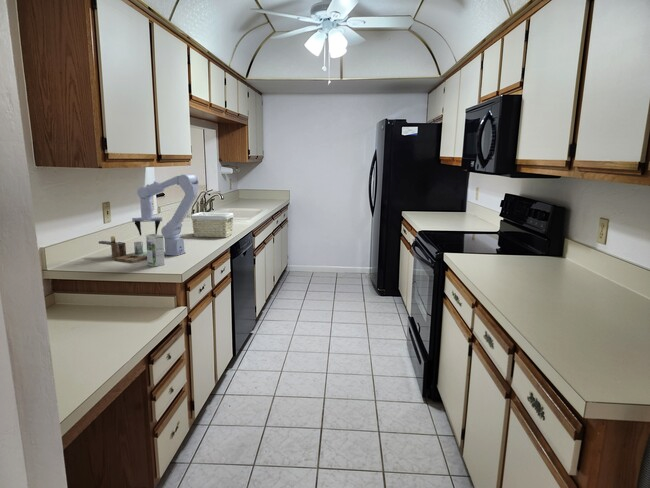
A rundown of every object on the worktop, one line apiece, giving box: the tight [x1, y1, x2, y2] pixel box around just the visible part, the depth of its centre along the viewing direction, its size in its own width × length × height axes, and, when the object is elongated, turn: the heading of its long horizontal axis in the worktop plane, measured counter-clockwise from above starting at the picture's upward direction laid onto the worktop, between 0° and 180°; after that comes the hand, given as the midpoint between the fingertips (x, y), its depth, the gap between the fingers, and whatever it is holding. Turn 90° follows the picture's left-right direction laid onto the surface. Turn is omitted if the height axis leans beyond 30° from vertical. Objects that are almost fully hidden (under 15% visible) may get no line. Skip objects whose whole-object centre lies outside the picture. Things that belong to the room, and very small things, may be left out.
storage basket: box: [190, 211, 235, 238], centre depth 275 cm, size 24×16×15 cm
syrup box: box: [145, 233, 165, 267], centre depth 198 cm, size 6×6×14 cm
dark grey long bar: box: [98, 235, 125, 246], centre depth 211 cm, size 14×2×4 cm, turn 69°
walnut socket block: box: [110, 241, 147, 264], centre depth 208 cm, size 16×10×8 cm, turn 70°
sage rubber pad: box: [126, 251, 147, 256], centre depth 219 cm, size 9×8×1 cm
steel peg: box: [133, 241, 144, 255], centre depth 218 cm, size 4×4×6 cm
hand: (148, 234), depth 223 cm, fingers open, 7 cm apart
